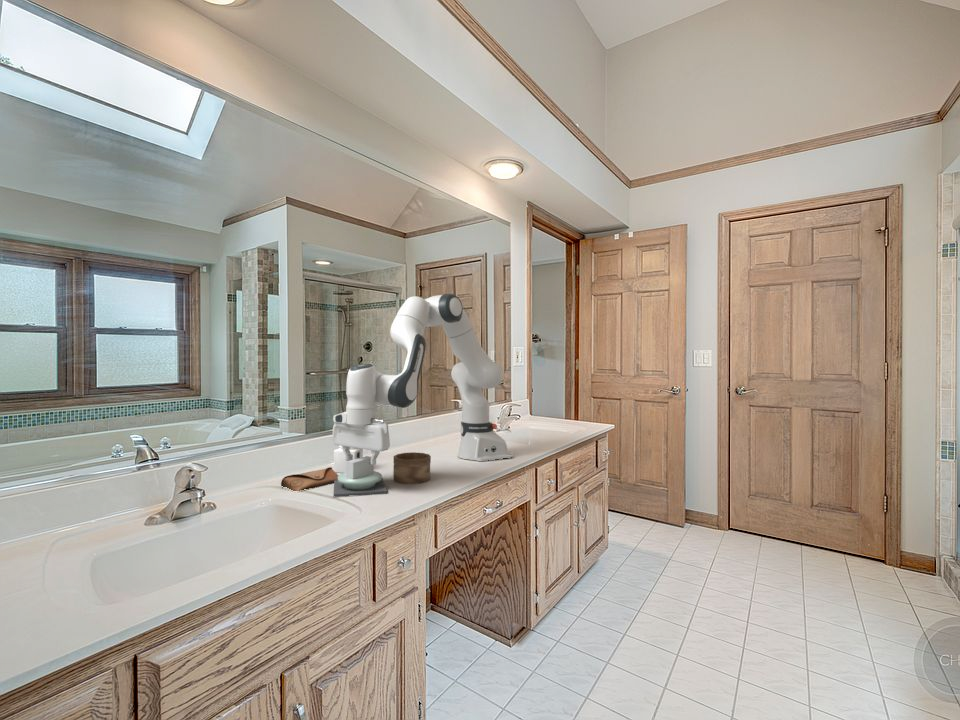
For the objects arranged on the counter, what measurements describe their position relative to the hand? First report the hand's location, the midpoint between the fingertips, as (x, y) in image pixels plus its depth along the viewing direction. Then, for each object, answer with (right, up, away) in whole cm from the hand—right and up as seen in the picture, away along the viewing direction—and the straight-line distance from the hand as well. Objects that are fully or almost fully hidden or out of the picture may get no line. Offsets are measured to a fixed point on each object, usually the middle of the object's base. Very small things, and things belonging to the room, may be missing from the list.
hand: (360, 462), depth 140 cm
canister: (+14, -8, +12) cm, 20 cm away
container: (-10, -8, +21) cm, 25 cm away
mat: (0, -8, 0) cm, 8 cm away
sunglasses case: (-15, -8, +4) cm, 18 cm away
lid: (0, -7, 0) cm, 7 cm away
